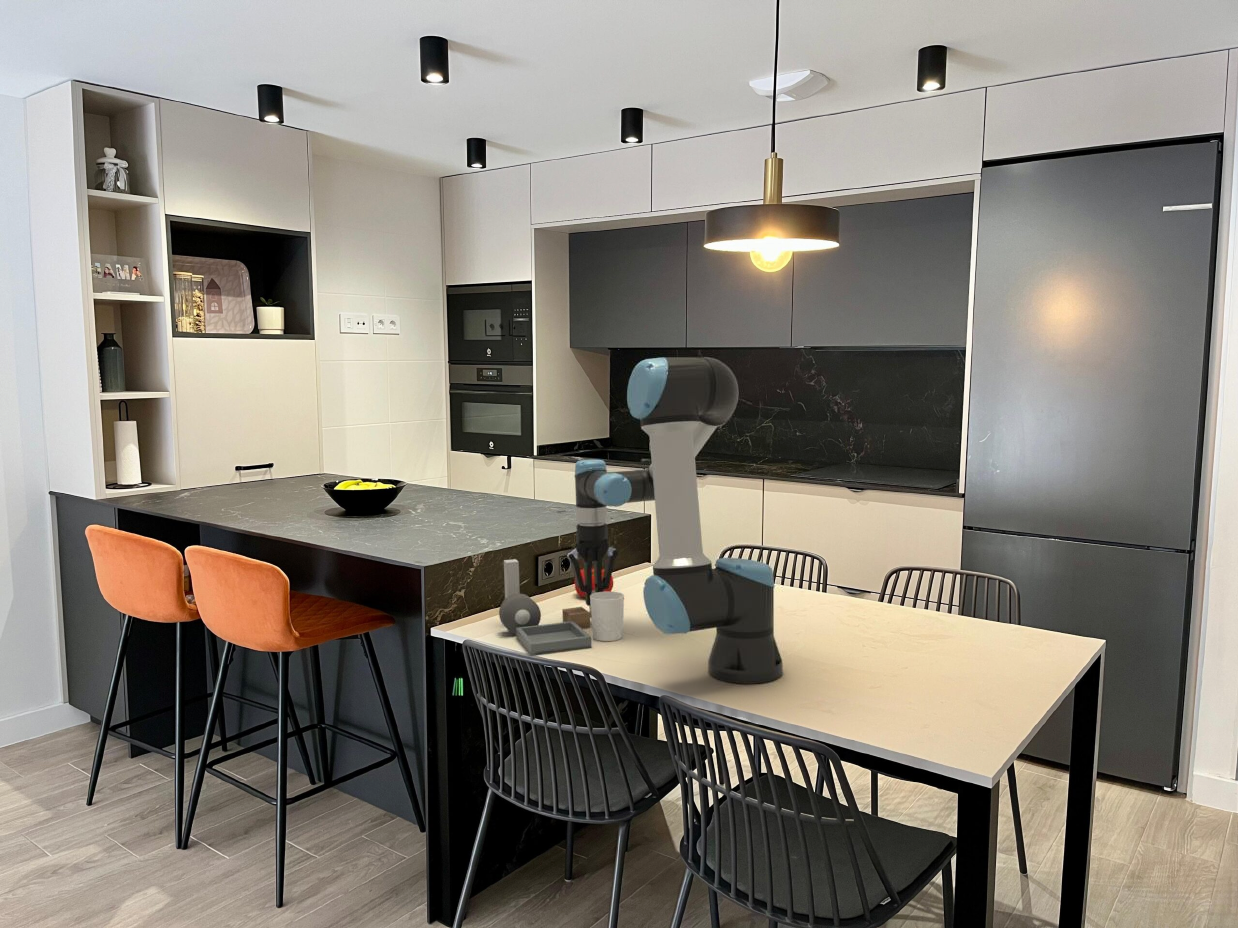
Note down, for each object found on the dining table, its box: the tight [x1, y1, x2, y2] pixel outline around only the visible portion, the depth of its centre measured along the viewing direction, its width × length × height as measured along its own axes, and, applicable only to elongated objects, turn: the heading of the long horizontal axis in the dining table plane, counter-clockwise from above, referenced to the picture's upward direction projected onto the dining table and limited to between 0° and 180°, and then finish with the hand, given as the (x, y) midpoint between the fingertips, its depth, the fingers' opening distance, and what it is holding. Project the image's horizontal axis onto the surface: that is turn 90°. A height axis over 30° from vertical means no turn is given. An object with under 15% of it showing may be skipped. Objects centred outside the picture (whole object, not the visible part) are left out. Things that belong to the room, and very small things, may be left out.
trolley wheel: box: [498, 558, 542, 636], centre depth 219 cm, size 12×9×16 cm
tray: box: [515, 621, 593, 656], centre depth 208 cm, size 14×14×2 cm
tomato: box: [574, 567, 614, 598], centre depth 250 cm, size 11×11×8 cm
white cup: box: [590, 591, 625, 642], centre depth 211 cm, size 8×8×10 cm
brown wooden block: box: [562, 606, 591, 630], centre depth 221 cm, size 6×5×4 cm
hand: (594, 617), depth 223 cm, fingers closed
